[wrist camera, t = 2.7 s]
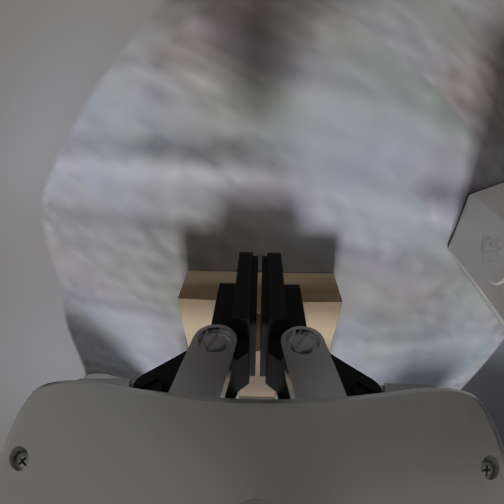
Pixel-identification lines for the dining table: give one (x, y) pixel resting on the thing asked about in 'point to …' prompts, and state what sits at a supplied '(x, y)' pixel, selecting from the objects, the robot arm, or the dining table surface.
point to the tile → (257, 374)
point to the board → (312, 290)
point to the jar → (483, 246)
